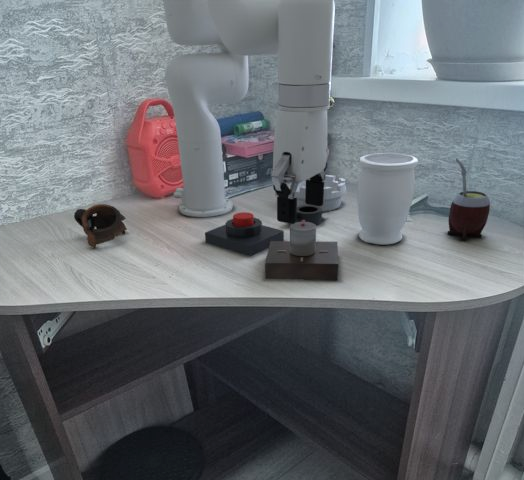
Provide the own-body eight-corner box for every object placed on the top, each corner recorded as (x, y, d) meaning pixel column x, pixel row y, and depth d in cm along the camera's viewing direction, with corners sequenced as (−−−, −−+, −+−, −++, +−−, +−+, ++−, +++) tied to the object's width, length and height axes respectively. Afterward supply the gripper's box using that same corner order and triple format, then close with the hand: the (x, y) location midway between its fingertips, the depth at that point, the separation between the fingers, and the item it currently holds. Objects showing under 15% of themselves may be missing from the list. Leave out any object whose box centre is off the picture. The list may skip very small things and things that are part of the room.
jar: (408, 249, 90) (420, 165, 82) (352, 246, 92) (358, 164, 84) (406, 229, 99) (416, 152, 90) (355, 227, 100) (360, 151, 92)
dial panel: (265, 279, 81) (264, 262, 79) (271, 256, 89) (270, 240, 87) (337, 280, 79) (338, 262, 78) (336, 257, 88) (337, 240, 86)
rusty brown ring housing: (140, 234, 103) (132, 207, 95) (118, 268, 99) (108, 242, 91) (90, 217, 104) (79, 188, 97) (66, 249, 100) (53, 221, 93)
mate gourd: (483, 231, 96) (501, 151, 88) (482, 245, 90) (501, 161, 82) (444, 227, 99) (458, 150, 91) (441, 240, 93) (455, 159, 85)
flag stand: (294, 196, 122) (295, 57, 105) (346, 197, 119) (355, 55, 103) (286, 211, 111) (285, 60, 95) (343, 213, 109) (352, 58, 92)
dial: (315, 256, 80) (316, 228, 78) (289, 256, 81) (288, 228, 78) (315, 246, 84) (316, 219, 82) (290, 246, 85) (290, 219, 82)
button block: (205, 243, 96) (203, 223, 94) (240, 229, 102) (239, 210, 100) (249, 257, 89) (248, 236, 87) (283, 241, 95) (283, 221, 93)
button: (229, 225, 94) (228, 216, 93) (243, 219, 96) (242, 210, 95) (244, 229, 91) (243, 220, 90) (258, 223, 94) (257, 214, 93)
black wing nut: (284, 217, 108) (284, 204, 106) (329, 216, 107) (330, 203, 106) (285, 229, 101) (284, 215, 100) (332, 228, 101) (333, 214, 99)
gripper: (307, 89, 77) (304, 195, 87) (250, 103, 65) (254, 225, 75) (351, 91, 74) (342, 201, 84) (299, 107, 62) (296, 234, 72)
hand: (300, 213), depth 79 cm, fingers open, 9 cm apart
